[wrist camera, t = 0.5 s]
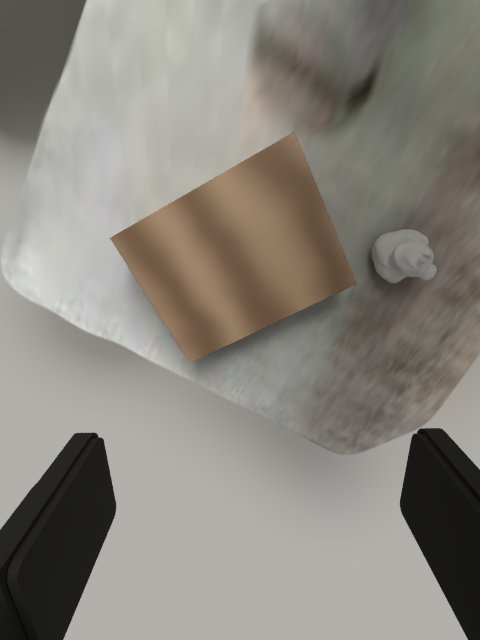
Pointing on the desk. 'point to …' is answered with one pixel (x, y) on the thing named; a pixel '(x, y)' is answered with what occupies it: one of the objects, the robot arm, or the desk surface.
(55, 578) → the robot arm
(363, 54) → the desk surface
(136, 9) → the desk surface
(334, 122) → the desk surface
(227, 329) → the walnut block
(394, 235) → the grey lumpy piece
